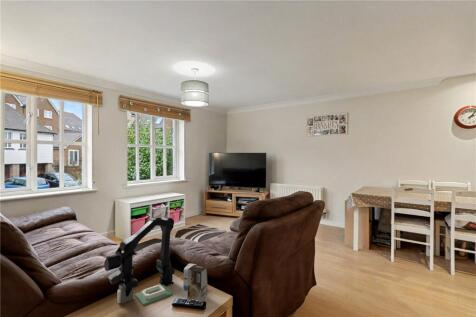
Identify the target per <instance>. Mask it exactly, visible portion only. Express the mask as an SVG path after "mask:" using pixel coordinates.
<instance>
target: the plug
mask: <svg viewBox="0 0 476 317" xmlns="http://www.w3.org/2000/svg"><path fill="white" fill-rule="evenodd" d="M122 285H123V284H121V283H120V284H119V285H118V289H117V294H116V295H117V296H116V302H117V304H121V305H122V304H124V303H127V302H130V301H132V300H134V287H133V288H132V290H131V292H130V294H129V296H127V297H126V292H125V288H124V287H123V286H122Z"/></svg>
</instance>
